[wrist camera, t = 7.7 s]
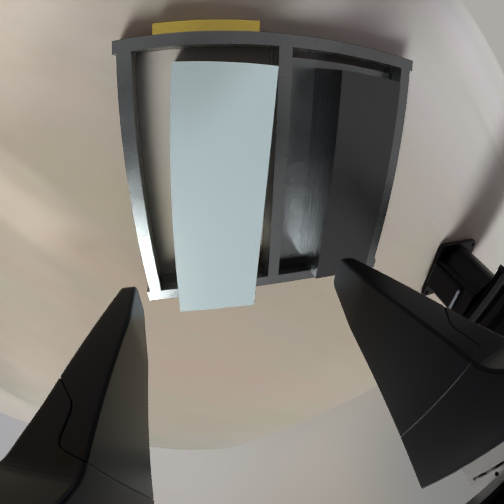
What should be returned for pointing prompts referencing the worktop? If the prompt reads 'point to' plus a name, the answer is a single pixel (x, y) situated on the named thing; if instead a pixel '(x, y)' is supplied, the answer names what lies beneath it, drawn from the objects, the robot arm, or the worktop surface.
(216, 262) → the panel
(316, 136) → the rack
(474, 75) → the worktop surface
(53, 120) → the worktop surface
